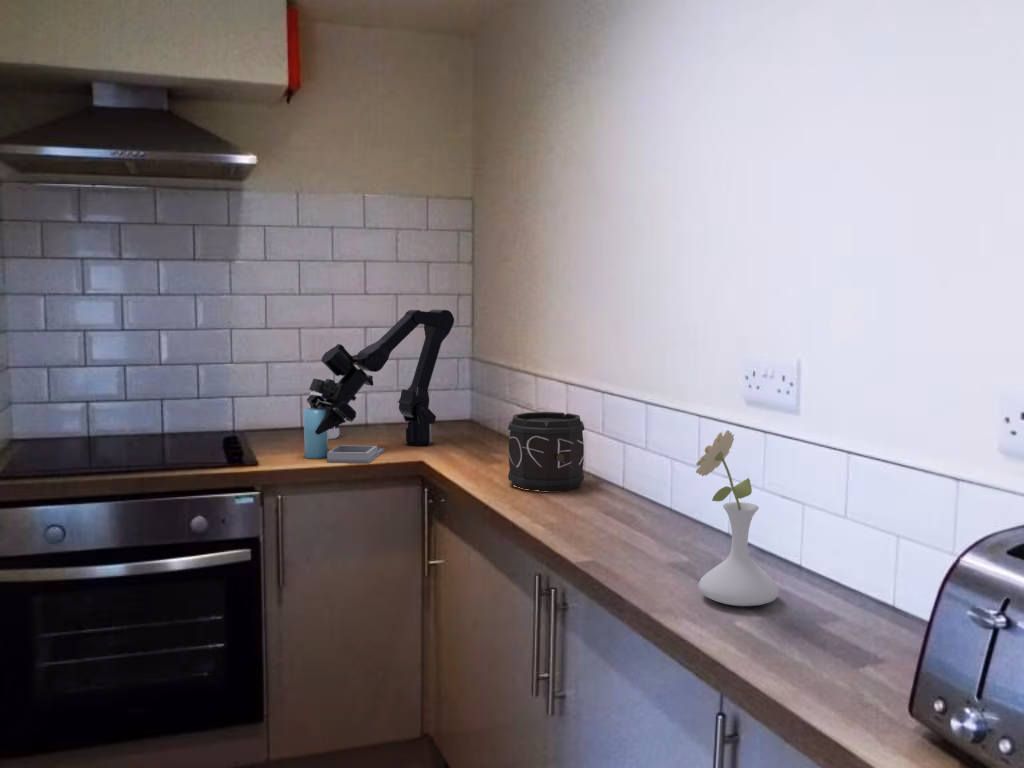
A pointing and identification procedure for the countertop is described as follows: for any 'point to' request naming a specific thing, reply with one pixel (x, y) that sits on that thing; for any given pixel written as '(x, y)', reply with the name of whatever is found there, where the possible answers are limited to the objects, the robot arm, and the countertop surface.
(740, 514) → the flower in vase
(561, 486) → the wooden barrel
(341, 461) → the kitchen sink with drainboard
